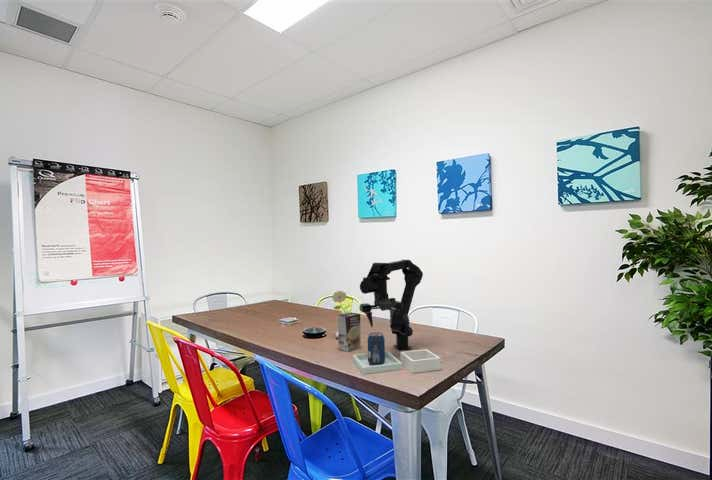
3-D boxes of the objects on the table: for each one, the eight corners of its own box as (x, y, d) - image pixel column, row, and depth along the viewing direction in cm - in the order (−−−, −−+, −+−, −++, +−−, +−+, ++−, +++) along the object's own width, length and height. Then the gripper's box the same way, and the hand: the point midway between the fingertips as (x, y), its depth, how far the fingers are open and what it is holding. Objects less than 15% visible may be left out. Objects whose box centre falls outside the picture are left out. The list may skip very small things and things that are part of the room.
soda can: (379, 359, 144) (378, 331, 144) (388, 364, 137) (387, 335, 138) (365, 362, 140) (364, 333, 141) (373, 367, 134) (372, 337, 134)
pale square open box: (400, 362, 140) (400, 351, 140) (426, 359, 144) (426, 349, 144) (412, 373, 129) (412, 361, 129) (440, 369, 132) (440, 358, 132)
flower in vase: (358, 334, 186) (357, 289, 186) (355, 340, 174) (354, 291, 175) (334, 334, 187) (333, 289, 187) (330, 340, 175) (329, 292, 176)
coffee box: (347, 352, 156) (346, 317, 156) (338, 349, 161) (337, 315, 161) (361, 347, 163) (360, 313, 163) (352, 344, 167) (351, 312, 167)
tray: (352, 360, 144) (352, 354, 144) (388, 356, 149) (387, 351, 149) (363, 374, 129) (363, 367, 129) (402, 369, 133) (402, 363, 133)
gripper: (365, 294, 141) (366, 332, 141) (407, 291, 146) (408, 328, 146) (358, 291, 152) (359, 326, 152) (397, 288, 157) (398, 322, 157)
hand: (381, 325), depth 151 cm, fingers open, 9 cm apart
